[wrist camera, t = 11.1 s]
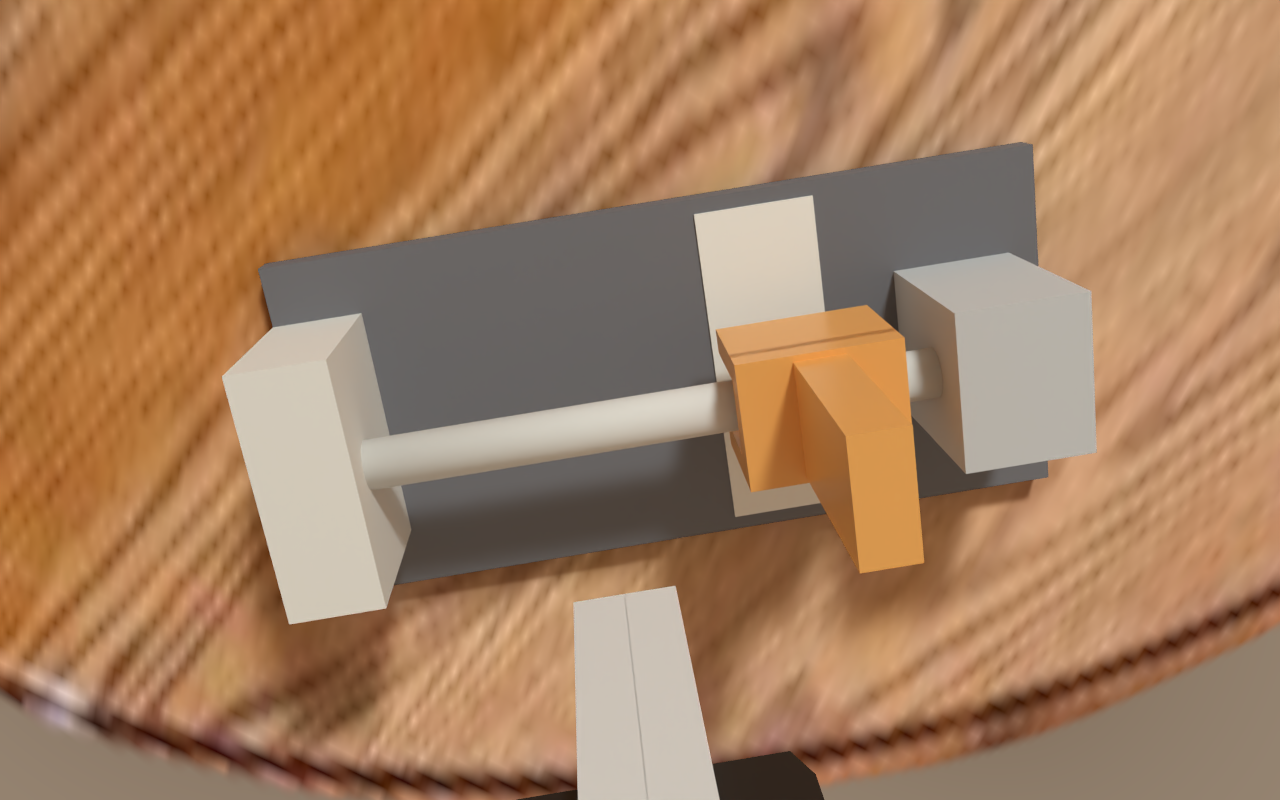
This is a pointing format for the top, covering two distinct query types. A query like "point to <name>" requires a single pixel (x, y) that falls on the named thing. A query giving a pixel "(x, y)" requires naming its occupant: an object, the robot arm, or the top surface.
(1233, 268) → the top surface
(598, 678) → the robot arm
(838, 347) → the orange rod slider
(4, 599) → the top surface
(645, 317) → the grey slider rail base
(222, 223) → the top surface
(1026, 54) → the top surface
